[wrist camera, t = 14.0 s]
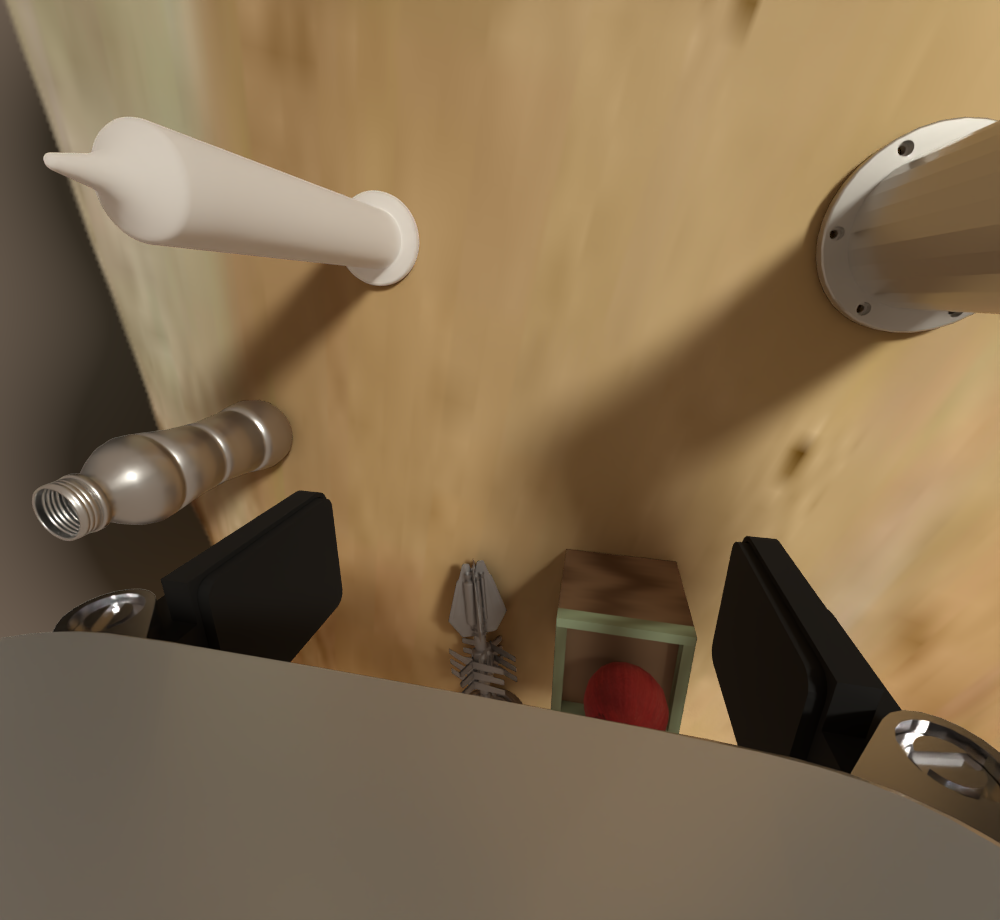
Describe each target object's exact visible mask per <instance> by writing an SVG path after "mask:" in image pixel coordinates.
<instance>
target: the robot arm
mask: <svg viewBox="0 0 1000 920" xmlns="http://www.w3.org/2000/svg"><path fill="white" fill-rule="evenodd" d="M898 148H900V149H901V150H902V153H901V155H899V154H898ZM831 231H834V233H835V236H834V238H832V239H831V238H830V232H831ZM816 264H817V271H818V277H819V280H820V282H821V285H822V288H823V291H824V293H825V294H826V296H827V297H828V299H829V300H830V302H831V303H832V305H833V306H834V307H835V308H837V309H838V310H839V311H840V312H841V313H842V314H843V315H844V316H845V317H847V318H849V319H851V320H852V321H854V322H856V323H858V324H859V325H862V326H866V327H869V328H872V329H875V330H881V331H888V332H905V333H913V332H920V331H927V330H933V329H936V328H940V327H943V326H946V325H950V324H953V323H955V322H957V321H959V320H962V319H964V318H966V317H968V316H970V315H972V314H974V313H990V314H1000V120H999V121H997V120H994V119H990V118H980V117H960V118H953V119H946V120H941V121H938V122H934V123H931V124H928V125H925V126H922V127H919V128H917V129H915V130H913V131H911V132H909V133H906V134H904V135H902V136H900V137H898V138H897V139H895V140H893V141H892V142H890V143H889V144H887V145H885V146H884V147H882V148H880V149H879V150H877V151H876V152H875V153H874V154H872V155H871V156H870V157H869V158H868V159H866V160H865V161H864V162H863V163H862V164H860V165H859V166H858V167H857V169H856V170H855V171H854V172H853V173H852V174H851V175H850V176H849V177H848V178H847V180H846V181H845V182H844V183H843V184H842V186H841V187H840V189H839V190H838V192H837V193H836V195H835V196H834V198H833V199H832V201H831V203H830V205H829V207H828V210H827V212H826V214H825V216H824V218H823V220H822V224H821V228H820V231H819V235H818V239H817V250H816ZM858 305H860V306H861V309H860V311H859V312H857V307H858ZM948 311H950V312H949V313H948ZM161 583H162V585H163V590H164V593H165V595H164V596H163V597H161V598H160V599H159V600H156V597H155V595H154V594H153V593H152V592H150V591H148V590H144V589H126V590H120V591H115V592H112V593H108V594H104V595H101V596H99V597H96V598H94V599H91V600H89V601H86V602H84V603H83V604H81V605H79V606H77V607H75V608H74V609H72V610H71V611H70V612H68V613H67V614H66V615H64V616H63V617H62V618H61V620H60V621H59V622H58V623H57V625H56V626H55V629H54V630H53V632H45V633H33V634H26V635H19V636H11V637H5V638H0V920H1000V752H998V751H997V750H996V749H994V748H993V747H992V746H991V745H989V744H988V743H987V742H985V741H984V740H982V739H981V738H979V737H977V736H976V735H974V734H972V733H971V732H969V731H967V730H966V729H964V728H962V727H960V726H958V725H956V724H953V723H951V722H949V721H947V720H944V719H942V718H939V717H936V716H933V715H929V714H926V713H922V712H916V711H906V710H901V709H900V707H899V706H898V704H897V703H896V702H895V700H894V699H893V697H892V696H891V695H890V693H889V692H888V690H887V689H886V688H885V686H884V685H883V683H882V682H881V681H880V679H879V678H878V677H877V675H876V674H875V672H874V671H873V670H872V668H871V667H870V665H869V664H868V663H867V661H866V660H865V658H864V657H863V656H862V654H861V653H860V651H859V650H858V649H857V647H856V646H855V644H854V643H853V642H852V640H851V639H850V638H849V636H848V635H847V633H846V632H845V631H844V629H843V628H842V626H841V625H840V624H839V622H838V621H837V619H836V618H835V617H834V615H833V614H832V613H831V612H830V611H829V610H828V609H827V608H826V607H825V605H824V604H823V603H822V601H821V600H820V598H819V597H818V596H817V594H816V593H815V591H814V590H813V589H812V587H811V586H810V584H809V583H808V582H807V580H806V579H805V577H804V576H803V575H802V573H801V572H800V570H799V569H798V568H797V566H796V565H795V563H794V562H793V560H792V559H791V558H790V556H789V555H788V553H787V552H786V551H785V549H784V548H783V546H782V545H781V544H780V542H779V541H778V540H777V539H770V538H760V537H750V536H746V537H745V538H744V540H743V542H735V543H734V545H733V547H732V551H731V556H730V561H729V566H728V571H727V576H726V581H725V586H724V590H723V595H722V600H721V605H720V610H719V615H718V620H717V624H716V629H715V634H714V639H713V644H712V660H713V664H714V668H715V671H716V674H717V678H718V681H719V684H720V688H721V691H722V694H723V698H724V701H725V704H726V708H727V711H728V714H729V718H730V721H731V725H732V728H733V731H734V735H735V738H736V741H737V745H738V746H737V745H732V744H728V743H723V742H719V741H714V740H709V739H704V738H699V737H694V736H688V735H683V734H678V733H672V732H667V731H662V730H656V729H651V728H646V727H641V726H635V725H630V724H625V723H619V722H614V721H609V720H603V719H598V718H593V717H587V716H582V715H577V714H571V713H566V712H561V711H555V710H550V709H545V708H539V707H534V706H528V705H523V704H518V703H512V702H507V701H501V700H496V699H491V698H485V697H480V696H474V695H469V694H464V693H458V692H453V691H447V690H442V689H436V688H431V687H425V686H420V685H414V684H409V683H403V682H398V681H392V680H387V679H381V678H375V677H370V676H364V675H358V674H353V673H347V672H342V671H336V670H330V669H325V668H319V667H314V666H308V665H302V664H296V663H291V661H292V660H293V658H294V657H295V656H296V655H297V654H298V653H299V651H300V650H301V649H302V648H303V647H304V645H305V644H306V643H307V642H308V641H309V640H310V638H311V637H312V636H313V635H314V634H315V633H316V631H317V630H318V629H319V628H320V627H321V625H322V624H323V623H324V622H325V621H326V620H327V618H328V617H329V616H330V615H331V614H332V612H333V611H334V610H335V609H336V608H337V607H338V605H339V603H340V601H341V598H342V583H341V575H340V567H339V558H338V550H337V542H336V534H335V526H334V518H333V510H332V504H331V502H330V500H329V499H326V497H325V495H324V494H323V493H319V492H309V491H297V492H295V493H294V494H292V495H291V496H289V497H287V498H286V499H284V500H283V501H281V502H280V503H278V504H277V505H275V506H274V507H272V508H270V509H269V510H267V511H266V512H264V513H263V514H261V515H260V516H258V517H256V518H255V519H253V520H252V521H250V522H249V523H247V524H246V525H244V526H243V527H241V528H239V529H238V530H236V531H235V532H233V533H232V534H230V535H229V536H227V537H225V538H224V539H222V540H221V541H219V542H218V543H216V544H215V545H213V546H211V547H210V548H208V549H207V550H205V551H204V552H202V553H201V554H199V555H198V556H196V557H194V558H193V559H191V560H190V561H189V562H187V563H185V564H184V565H182V566H180V567H179V568H177V569H176V570H174V571H173V572H171V573H170V574H168V575H167V576H165V577H164V578H162V579H161Z"/></svg>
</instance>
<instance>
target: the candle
mask: <svg viewBox="0 0 1000 920" xmlns="http://www.w3.org/2000/svg"><path fill="white" fill-rule="evenodd" d="M44 163H45V164H46V166H47V167H48V168H49V169H51V170H53V171H56V172H57V173H60V174H62V175H64V176H66V177H69V178H71V179H73V180H75V181H78V182H80V183H82V184H84V185H87V186H89V187H91V188H93V189H94V190H95V191H96V194H97V197H98V199H99V201H100V203H101V205H102V207H103V209H104V210H105V212H106V213H107V215H108V216H109V217H110V219H111V220H112V221H113V222H114V223H115V224H116V225H117V226H118V227H119V228H120V229H121V230H122V231H123V232H124V233H126V234H127V235H129V236H130V237H132V238H134V239H136V240H138V241H141V242H143V243H147V244H151V245H160V246H169V247H178V248H187V249H196V250H206V251H215V252H224V253H233V254H242V255H251V256H260V257H269V258H279V259H288V260H297V261H306V262H315V263H324V264H333V265H342V266H346V267H347V268H348V269H349V271H350V272H351V273H352V274H353V275H354V276H356V277H357V278H358V279H360V280H361V281H363V282H365V283H368V284H371V285H376V286H387V285H391V284H394V283H397V282H398V281H400V280H402V279H403V278H404V277H405V276H406V275H407V274H408V273H409V272H410V271H411V269H412V268H413V266H414V264H415V262H416V259H417V256H418V251H419V234H418V229H417V225H416V222H415V220H414V218H413V216H412V214H411V212H410V211H409V209H408V208H407V207H406V206H405V205H404V203H403V202H401V201H400V200H399V199H398V198H396V197H394V196H393V195H391V194H388V193H386V192H383V191H376V190H372V191H365V192H362V193H360V194H358V195H356V196H354V197H353V198H350V197H347V196H344V195H342V194H339V193H336V192H334V191H331V190H329V189H326V188H323V187H321V186H318V185H315V184H313V183H310V182H308V181H305V180H302V179H300V178H297V177H294V176H292V175H289V174H287V173H284V172H281V171H279V170H276V169H273V168H271V167H268V166H266V165H263V164H260V163H258V162H255V161H253V160H250V159H247V158H245V157H242V156H239V155H237V154H234V153H232V152H229V151H226V150H224V149H221V148H218V147H216V146H213V145H211V144H208V143H205V142H203V141H200V140H197V139H195V138H192V137H190V136H187V135H184V134H182V133H179V132H176V131H174V130H171V129H169V128H166V127H163V126H161V125H158V124H155V123H153V122H150V121H148V120H145V119H142V118H137V117H120V118H117V119H115V120H113V121H111V122H109V123H108V124H106V125H105V126H104V127H103V128H102V129H101V130H100V132H99V133H98V135H97V137H96V139H95V141H94V144H93V147H92V152H90V153H47V154H45V155H44Z"/></svg>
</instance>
